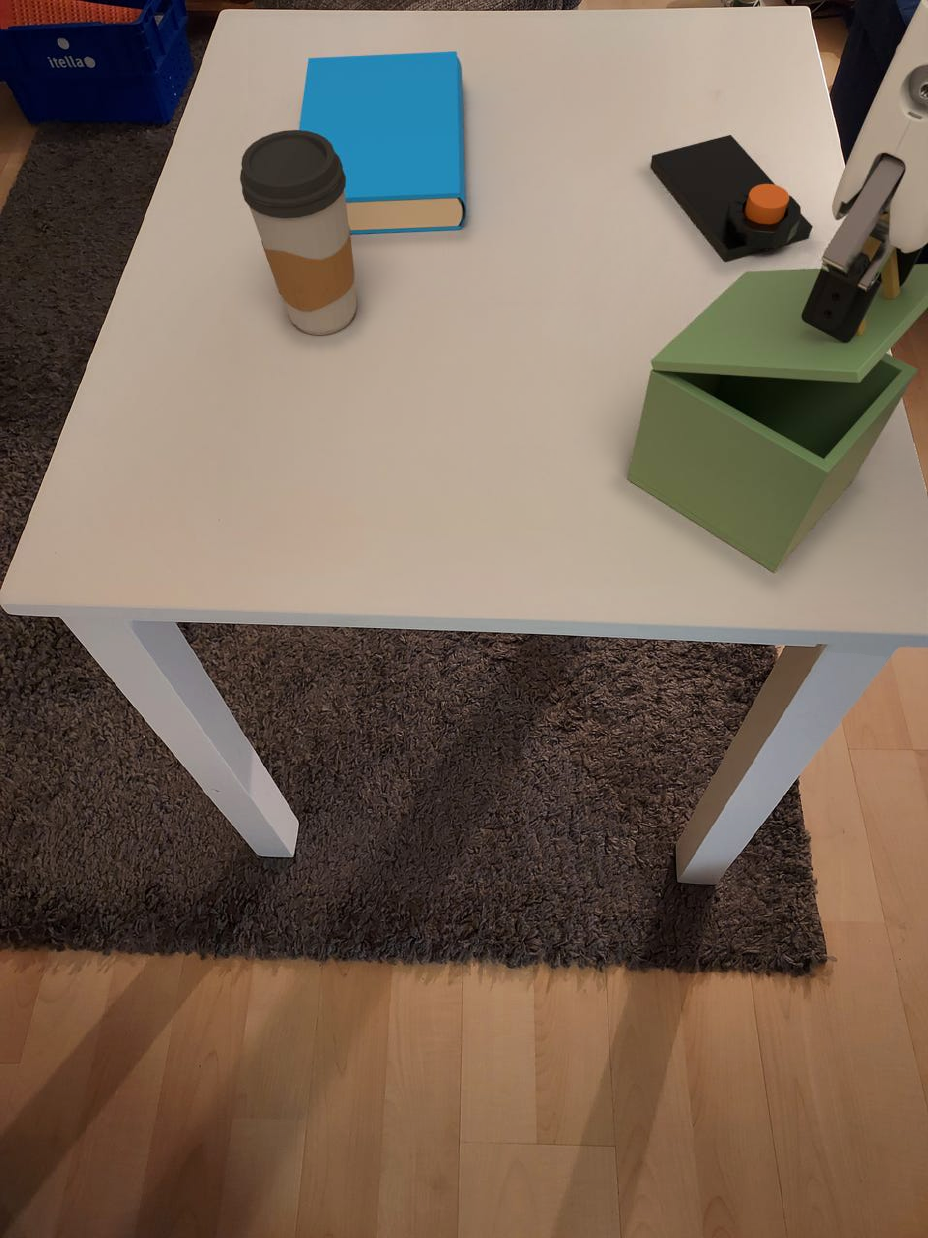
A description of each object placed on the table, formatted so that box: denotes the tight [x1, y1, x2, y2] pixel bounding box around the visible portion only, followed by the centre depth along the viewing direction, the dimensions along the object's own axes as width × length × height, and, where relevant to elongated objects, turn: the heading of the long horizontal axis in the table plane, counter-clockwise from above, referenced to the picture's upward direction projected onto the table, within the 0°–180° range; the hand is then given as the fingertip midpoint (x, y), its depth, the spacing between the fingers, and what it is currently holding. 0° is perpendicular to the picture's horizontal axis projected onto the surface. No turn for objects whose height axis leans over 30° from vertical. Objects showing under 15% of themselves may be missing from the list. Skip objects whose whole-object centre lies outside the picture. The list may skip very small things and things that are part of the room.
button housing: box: [649, 134, 814, 263], centre depth 82 cm, size 17×9×3 cm, turn 20°
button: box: [745, 184, 790, 224], centre depth 78 cm, size 4×4×2 cm
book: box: [298, 50, 467, 235], centre depth 88 cm, size 17×4×25 cm
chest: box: [627, 352, 919, 573], centre depth 62 cm, size 14×12×12 cm
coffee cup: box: [239, 129, 357, 336], centre depth 72 cm, size 8×8×15 cm
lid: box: [650, 213, 928, 383], centre depth 52 cm, size 14×12×6 cm
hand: (852, 299), depth 50 cm, fingers closed on lid, 5 cm apart
